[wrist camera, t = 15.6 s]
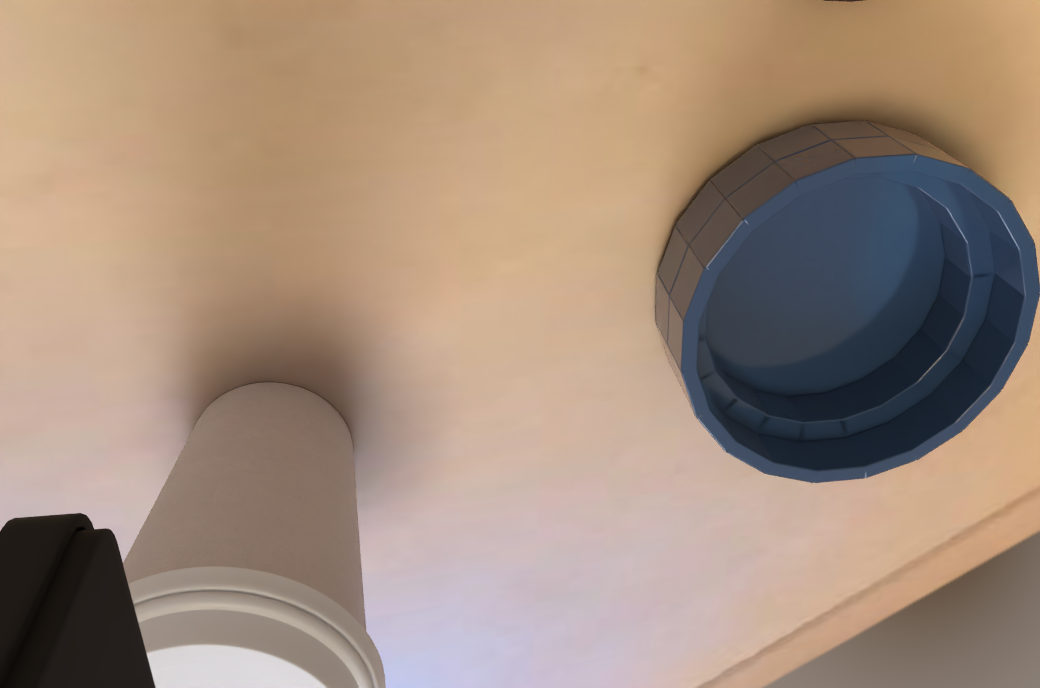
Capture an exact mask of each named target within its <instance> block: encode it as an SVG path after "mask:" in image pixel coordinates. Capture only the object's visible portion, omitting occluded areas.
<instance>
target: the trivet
mask: <svg viewBox="0 0 1040 688" xmlns="http://www.w3.org/2000/svg"><path fill="white" fill-rule="evenodd" d="M825 1H846V2H853V1H863V0H825Z"/></svg>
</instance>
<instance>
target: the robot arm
mask: <svg viewBox="0 0 1040 688" xmlns="http://www.w3.org/2000/svg"><path fill="white" fill-rule="evenodd" d="M0 688H156V687H155V684H154V680H153V676H152V672H151V668H150V665H149V661H148V657H147V653H146V650H145V646H144V642H143V638H142V634H141V631H140V627H139V623H138V619H137V616H136V612H135V608H134V604H133V600H132V597H131V593H130V589H129V585H128V582H127V578H126V574H125V570H124V566H123V563H122V559H121V555H120V551H119V547H118V544H117V541H116V538H115V535H114V534H113V532H112V531H111V530H110V529H95V530H94V528H93V525H92V522H91V521H90V520H89V518H88V517H87V516H86V515H84V514H81V513H77V514H63V515H50V516H37V517H24V518H14V519H12V520H10V521H8V522H7V523H6V524H5V526H4V527H3V528H2V529H1V531H0Z"/></svg>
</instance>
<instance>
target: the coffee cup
mask: <svg viewBox="0 0 1040 688" xmlns="http://www.w3.org/2000/svg"><path fill="white" fill-rule="evenodd" d="M123 566H124V570H125V574H126V578H127V582H128V585H129V589H130V593H131V597H132V600H133V604H134V608H135V612H136V616H137V619H138V623H139V627H140V631H141V634H142V638H143V642H144V646H145V650H146V653H147V657H148V661H149V665H150V668H151V672H152V676H153V680H154V684H155V687H156V688H385V674H384V669H383V665H382V661H381V658H380V656H379V653H378V651H377V649H376V647H375V645H374V643H373V641H372V639H371V638H370V636H369V635H368V633H367V632H366V622H365V609H364V596H363V583H362V569H361V555H360V541H359V527H358V513H357V498H356V484H355V469H354V455H353V444H352V439H351V435H350V432H349V429H348V427H347V425H346V423H345V421H344V420H343V418H342V417H341V416H340V414H339V413H338V412H337V411H336V410H335V409H334V408H333V407H332V406H331V405H330V404H329V403H328V402H327V401H325V400H324V399H323V398H321V397H319V396H318V395H316V394H314V393H312V392H310V391H308V390H306V389H303V388H300V387H297V386H294V385H289V384H284V383H274V382H264V383H254V384H249V385H245V386H241V387H238V388H235V389H233V390H231V391H229V392H227V393H225V394H223V395H221V396H220V397H218V398H217V399H216V400H215V401H213V402H212V403H211V404H210V405H209V406H208V407H207V408H206V409H205V411H204V412H203V413H202V415H201V416H200V418H199V420H198V421H197V423H196V425H195V427H194V429H193V431H192V433H191V435H190V437H189V438H188V440H187V442H186V444H185V446H184V448H183V450H182V452H181V454H180V456H179V458H178V460H177V462H176V463H175V465H174V467H173V469H172V471H171V473H170V475H169V477H168V479H167V481H166V483H165V485H164V486H163V488H162V490H161V492H160V494H159V496H158V498H157V500H156V502H155V504H154V506H153V507H152V509H151V511H150V513H149V515H148V517H147V519H146V521H145V523H144V525H143V527H142V528H141V530H140V532H139V534H138V536H137V538H136V540H135V542H134V544H133V546H132V547H131V549H130V551H129V553H128V555H127V557H126V559H125V561H124V563H123Z"/></svg>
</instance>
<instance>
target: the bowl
mask: <svg viewBox="0 0 1040 688" xmlns="http://www.w3.org/2000/svg"><path fill="white" fill-rule="evenodd" d="M676 225H677V226H675V228H674V230H673V233H672V236H671V238H670V241H669V244H668V247H667V249H666V252H665V255H664V257H663V260H662V263H661V265H660V268H659V271H658V274H657V289H656V325H657V328H658V331H659V334H660V337H661V340H662V343H663V345H664V348H665V351H666V354H667V357H668V360H669V363H670V365H671V367H672V369H673V371H674V373H675V375H676V377H677V379H678V382H679V384H680V386H681V387H682V390H683V392H684V394H685V396H686V398H687V400H688V402H689V404H690V406H691V408H692V410H693V412H694V414H695V416H696V418H697V419H698V420H699V422H700V423H701V424H702V425H703V426H704V427H705V429H706V430H707V431H708V432H709V433H710V434H711V436H712V437H713V438H714V439H715V440H716V442H717V443H718V444H719V445H720V446H721V447H722V449H723V450H724V451H726V452H727V453H728V454H730V455H732V456H734V457H736V458H737V459H739V460H741V461H743V462H745V463H746V464H748V465H750V466H752V467H754V468H756V469H757V470H759V471H761V472H763V473H765V474H768V475H774V476H779V477H784V478H790V479H795V480H800V481H806V482H811V483H820V482H831V481H841V480H852V479H863V478H865V477H866V478H868V477H870V476H873V475H876V474H879V473H882V472H885V471H888V470H890V469H893V468H896V467H899V466H902V465H905V464H907V463H910V462H913V461H915V460H918V459H920V458H921V457H923V456H924V455H926V454H928V453H929V452H931V451H932V450H934V449H935V448H937V447H938V446H940V445H942V444H943V443H945V442H946V441H948V440H949V439H951V438H953V437H954V436H956V435H957V434H959V433H960V432H962V431H963V430H964V429H965V428H966V427H967V426H968V425H969V424H970V423H971V422H972V421H973V420H974V419H975V418H976V417H977V416H978V415H979V414H980V413H981V412H982V410H983V409H984V408H985V407H986V406H987V405H988V404H989V403H990V402H991V401H992V400H993V399H994V398H995V397H996V396H997V395H998V394H999V393H1000V392H1001V390H1002V389H1003V387H1004V386H1005V384H1006V382H1007V380H1008V379H1009V377H1010V375H1011V373H1012V372H1013V370H1014V368H1015V366H1016V364H1017V363H1018V361H1019V359H1020V357H1021V356H1022V354H1023V352H1024V350H1025V349H1026V347H1027V345H1028V342H1029V339H1030V335H1031V330H1032V326H1033V322H1034V318H1035V313H1036V309H1037V305H1038V300H1039V296H1040V284H1039V275H1038V266H1037V257H1036V248H1035V243H1034V240H1033V238H1032V237H1031V235H1030V233H1029V231H1028V229H1027V228H1026V226H1025V224H1024V222H1023V220H1022V219H1021V217H1020V215H1019V213H1018V211H1017V210H1016V208H1015V206H1014V204H1013V202H1012V201H1011V200H1010V199H1009V197H1007V196H1006V195H1005V194H1003V193H1002V192H1001V191H999V190H998V189H997V188H996V187H994V186H993V185H992V184H990V183H989V182H988V181H986V180H985V179H984V178H982V177H981V176H980V175H978V174H977V173H976V172H975V171H973V170H972V169H970V168H969V167H967V166H966V165H964V164H962V163H961V162H959V161H958V160H956V159H954V158H953V157H951V156H949V155H948V154H946V153H945V152H943V151H941V150H940V149H938V148H936V147H935V146H933V145H932V144H930V143H928V142H927V141H925V140H924V139H922V138H920V137H919V136H917V135H915V134H913V133H910V132H906V131H903V130H899V129H895V128H892V127H888V126H885V125H881V124H877V123H874V122H870V121H851V122H836V123H820V124H812V125H807V126H804V127H801V128H799V129H796V130H793V131H791V132H788V133H786V134H783V135H780V136H778V137H775V138H773V139H770V140H767V141H765V142H762V143H759V144H757V146H756V145H755V146H754V147H752V148H751V149H750V150H748V151H747V152H746V153H744V154H743V155H742V156H740V157H739V158H738V159H736V160H735V161H734V162H732V163H731V164H730V165H728V166H727V167H726V168H724V169H723V170H722V171H720V172H719V173H718V174H716V175H715V176H714V177H712V178H711V179H710V180H709V181H708V182H707V183H706V185H705V186H704V187H703V189H702V190H701V191H700V193H699V194H698V195H697V197H696V198H695V199H694V200H693V202H692V203H691V204H690V206H689V207H688V208H687V210H686V211H685V212H684V214H683V215H682V216H681V218H680V219H679V220H678V222H677V223H676Z"/></svg>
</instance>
